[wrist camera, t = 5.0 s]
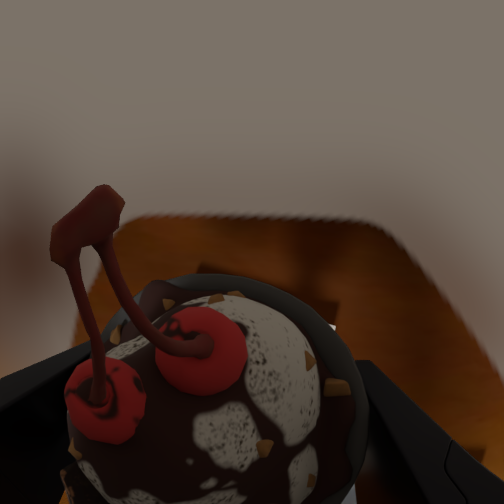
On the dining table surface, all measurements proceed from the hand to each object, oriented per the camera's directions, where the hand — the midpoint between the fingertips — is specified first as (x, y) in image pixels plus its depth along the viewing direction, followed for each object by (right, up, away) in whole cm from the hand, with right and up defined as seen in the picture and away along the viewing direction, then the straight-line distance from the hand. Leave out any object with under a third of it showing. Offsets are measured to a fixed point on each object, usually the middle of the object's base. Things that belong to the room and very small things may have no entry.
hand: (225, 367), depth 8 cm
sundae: (+1, -5, +7) cm, 9 cm away
